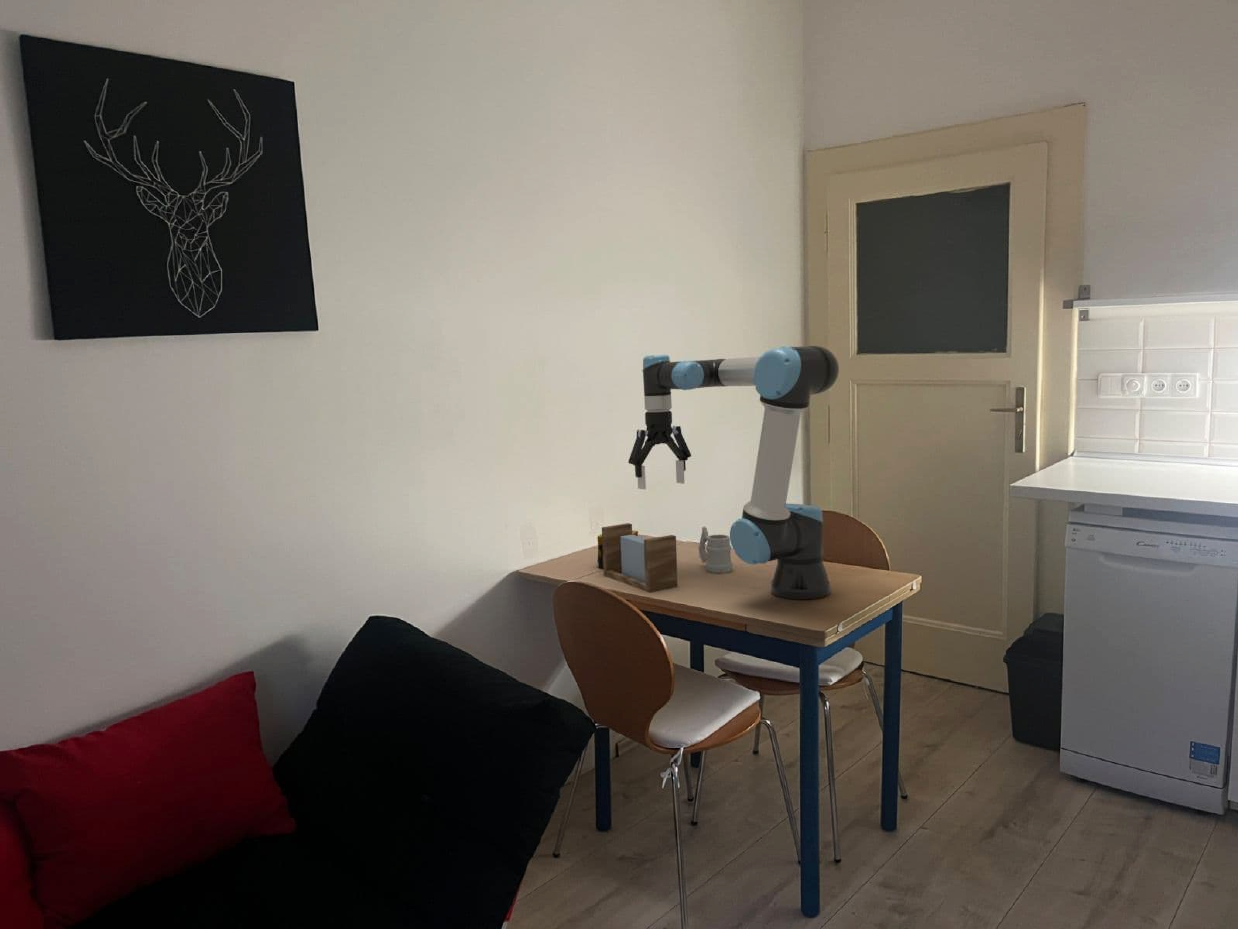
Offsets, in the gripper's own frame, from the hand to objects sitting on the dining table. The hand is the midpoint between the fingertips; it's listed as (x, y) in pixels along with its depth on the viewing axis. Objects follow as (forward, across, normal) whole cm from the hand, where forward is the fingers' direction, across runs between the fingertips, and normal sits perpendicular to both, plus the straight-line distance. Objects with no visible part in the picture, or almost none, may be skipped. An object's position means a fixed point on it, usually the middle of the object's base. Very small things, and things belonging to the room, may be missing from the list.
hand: (661, 486), depth 259 cm
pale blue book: (+26, +9, 0) cm, 27 cm away
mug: (+26, -15, +4) cm, 30 cm away
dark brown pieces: (+26, +3, -19) cm, 32 cm away
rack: (+26, +9, 0) cm, 27 cm away
